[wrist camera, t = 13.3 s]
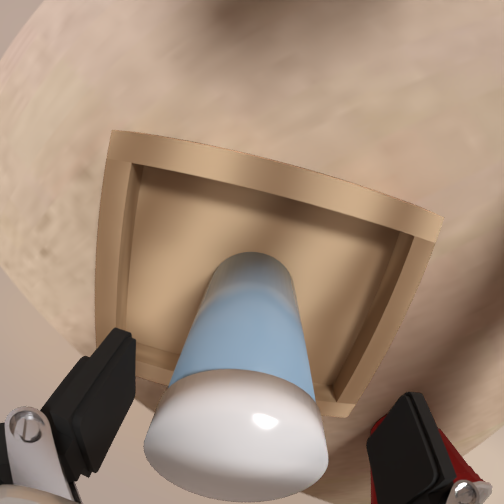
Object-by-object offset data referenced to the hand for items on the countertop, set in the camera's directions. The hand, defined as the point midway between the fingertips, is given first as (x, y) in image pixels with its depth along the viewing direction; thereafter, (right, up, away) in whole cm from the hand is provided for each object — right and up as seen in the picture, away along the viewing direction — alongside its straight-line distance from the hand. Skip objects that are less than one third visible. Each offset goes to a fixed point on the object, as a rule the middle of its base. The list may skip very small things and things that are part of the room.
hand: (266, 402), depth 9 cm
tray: (-1, +3, +10) cm, 10 cm away
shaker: (-1, +3, +9) cm, 9 cm away
